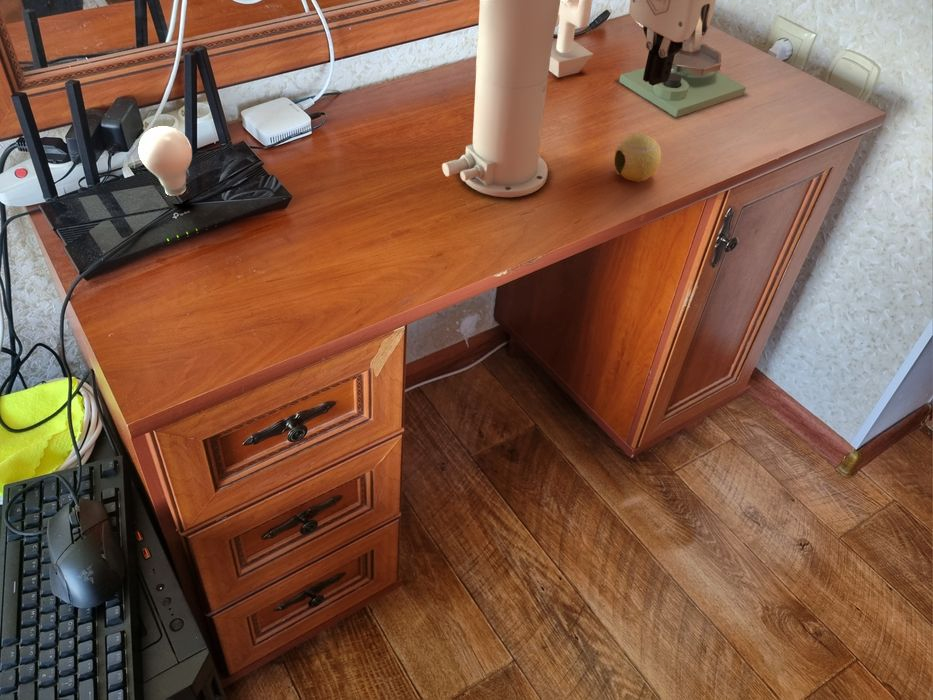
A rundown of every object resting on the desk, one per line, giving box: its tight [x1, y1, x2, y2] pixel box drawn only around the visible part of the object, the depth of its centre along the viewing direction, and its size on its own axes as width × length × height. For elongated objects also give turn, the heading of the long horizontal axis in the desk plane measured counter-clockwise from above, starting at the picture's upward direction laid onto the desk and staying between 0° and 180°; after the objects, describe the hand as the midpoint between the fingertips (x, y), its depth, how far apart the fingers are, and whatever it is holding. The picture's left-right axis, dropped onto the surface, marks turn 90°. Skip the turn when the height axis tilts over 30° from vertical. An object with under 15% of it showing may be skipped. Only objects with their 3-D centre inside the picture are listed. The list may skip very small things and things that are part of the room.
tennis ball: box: [613, 133, 662, 183], centre depth 112 cm, size 6×7×7 cm
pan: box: [671, 42, 722, 78], centre depth 134 cm, size 10×10×2 cm
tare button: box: [664, 73, 681, 88], centre depth 129 cm, size 3×3×2 cm
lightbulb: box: [138, 125, 193, 196], centre depth 102 cm, size 6×6×11 cm
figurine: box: [549, 0, 594, 78], centre depth 132 cm, size 7×9×15 cm
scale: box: [618, 66, 747, 118], centre depth 134 cm, size 16×14×3 cm
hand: (655, 80), depth 104 cm, fingers closed
